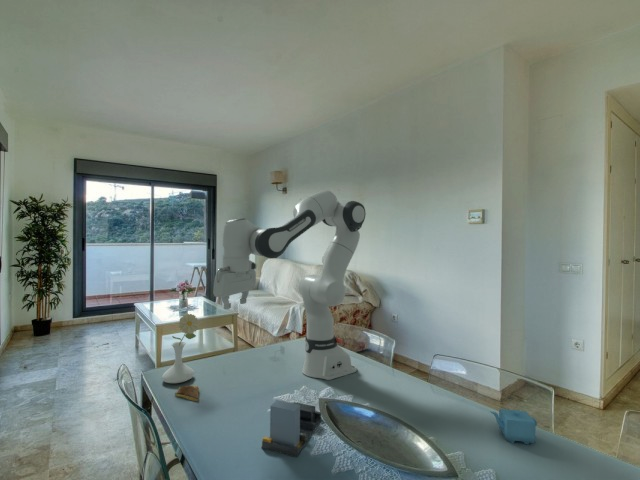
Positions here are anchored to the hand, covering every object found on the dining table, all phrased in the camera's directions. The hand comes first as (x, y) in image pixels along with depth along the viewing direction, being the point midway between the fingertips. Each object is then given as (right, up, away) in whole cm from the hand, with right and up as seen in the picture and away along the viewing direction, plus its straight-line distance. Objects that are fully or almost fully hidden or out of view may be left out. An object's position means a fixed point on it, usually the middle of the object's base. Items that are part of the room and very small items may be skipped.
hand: (235, 306), depth 115 cm
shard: (-15, -32, +2) cm, 35 cm away
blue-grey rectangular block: (+20, -31, -26) cm, 45 cm away
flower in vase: (-24, -31, +13) cm, 41 cm away
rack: (+22, -32, -20) cm, 43 cm away
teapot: (+83, -33, -21) cm, 91 cm away
